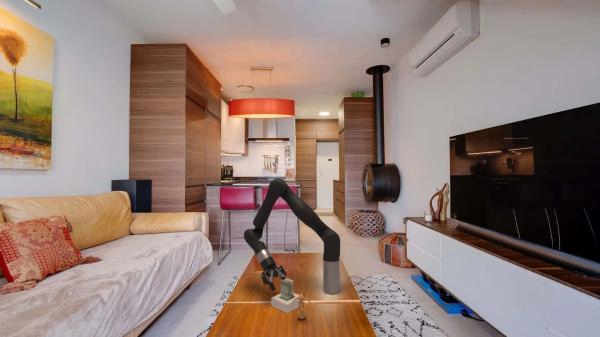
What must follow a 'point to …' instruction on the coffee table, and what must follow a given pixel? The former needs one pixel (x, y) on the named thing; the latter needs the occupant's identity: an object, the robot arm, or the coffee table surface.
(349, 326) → the coffee table surface
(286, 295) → the green metallic peg
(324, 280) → the robot arm
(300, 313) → the figurine
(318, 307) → the coffee table surface
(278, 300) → the white well block
